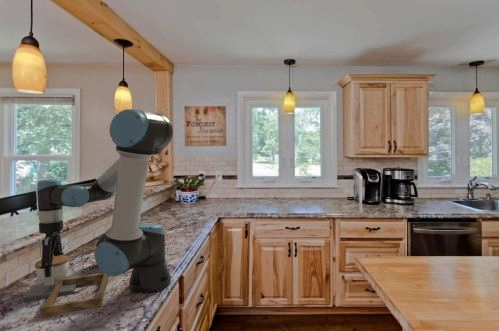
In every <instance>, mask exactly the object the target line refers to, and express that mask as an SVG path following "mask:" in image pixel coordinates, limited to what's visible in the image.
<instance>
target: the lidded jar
mask: <svg viewBox="0 0 499 331" xmlns="http://www.w3.org/2000/svg"><path fill="white" fill-rule="evenodd" d="M41 263H42V259H40V260H38V261H36V262H35V263H34V268H35V274H36V276H37V279H39V280H41V281H42V282H44V268H43V269H41V268H40V267H41ZM52 266H53V278H54V283H56V282H59V281H61V280H63V279H64V277H65V276H66V275H67V274H68V272H69V269H70V256H68V255H64V254H63V255H60V256H54V255H53V261H52Z"/></svg>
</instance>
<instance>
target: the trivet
mask: <svg viewBox="0 0 499 331" xmlns="http://www.w3.org/2000/svg"><path fill="white" fill-rule="evenodd" d="M79 276H82V274H81V273H79V274H72V275H67V276H65V277H64V279H65V278H72V277H79ZM57 283H58V282H56V283H54V284H53V285H48V286H44V282H42V281H41V280H37V281H36V282H35V283H34V284H33V286H31V288H30V289H29V290H28V291H27V293H25V295H24V296H23V297H22V298H23V302H27V301H34V300H40V299H46V298H47V299H48V297H49V296H50V294H51V292H52V291H53V289H54V288H55V286H56V285H57ZM76 288H77V283H71V284H64V285H63V286H62V288H61V289H60V291H59V296H64V295H65V296H66V295H70V294H74V292H75V291H76V290H77V289H76Z"/></svg>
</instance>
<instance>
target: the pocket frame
mask: <svg viewBox="0 0 499 331" xmlns="http://www.w3.org/2000/svg"><path fill="white" fill-rule="evenodd" d="M108 282H109V275H107V274H105V273H104V272H102V273H101V272H100V273H94V274H87V275H81V276H79V277H72V278H65V279H63V280H61V281H59V282H58V283H57V285H56V286H55V288H54V289H53V291H52V292H51V294H50V296H49V297H47V299H46V300H45V302H44V303H43V305H42V306H41V308H40V309H41V318H48V317H54V316H59V315H64V314H70V313H77V312H80V311H85V310H86V311H87V310H93V309H97V308H101V307H102V305H103V301H104V300H103V299H104V297H105V293H106V290H107V285H108ZM71 283H77V286H82V285H84V286H85V285H90V284H91V285H92V284H96V283H100V285H99V290H98V293H97V296H95V297H89V298H83V299H78V300H71V301H67V302H60V303H56V301H57V299H58V298H59V296H60V295H59V291H60V289H61V288H62V286H63V285H64V284H71Z"/></svg>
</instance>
